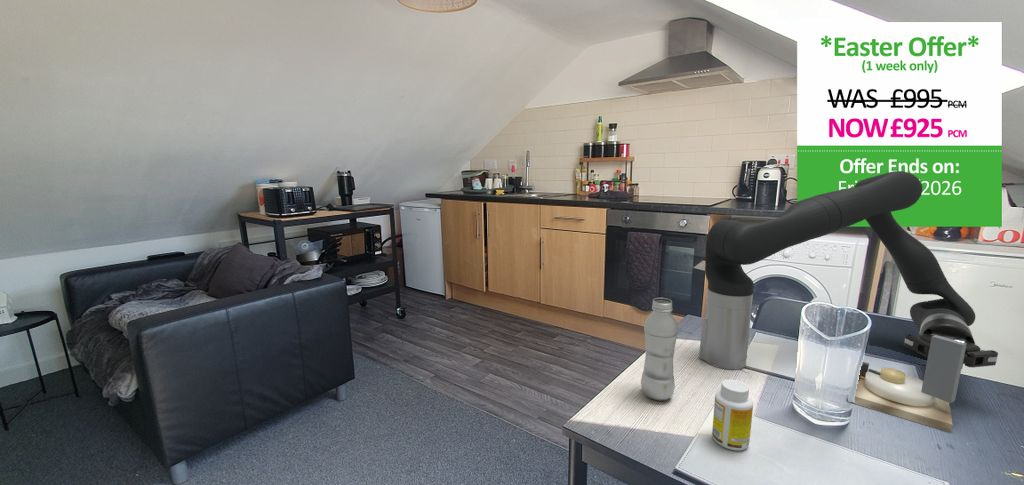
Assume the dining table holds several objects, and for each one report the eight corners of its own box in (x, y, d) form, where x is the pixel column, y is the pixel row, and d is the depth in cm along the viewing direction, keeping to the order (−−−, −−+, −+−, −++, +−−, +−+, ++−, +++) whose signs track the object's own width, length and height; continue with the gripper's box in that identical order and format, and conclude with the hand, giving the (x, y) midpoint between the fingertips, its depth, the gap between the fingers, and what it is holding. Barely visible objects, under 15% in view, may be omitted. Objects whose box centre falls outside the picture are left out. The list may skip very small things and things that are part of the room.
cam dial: (853, 385, 82) (863, 324, 80) (880, 374, 86) (890, 316, 84) (936, 419, 71) (950, 349, 69) (963, 405, 75) (978, 339, 73)
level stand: (846, 401, 80) (850, 380, 79) (853, 374, 90) (856, 355, 89) (950, 432, 70) (955, 408, 70) (945, 399, 80) (950, 377, 80)
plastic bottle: (638, 401, 81) (643, 304, 77) (641, 384, 87) (646, 293, 83) (673, 408, 78) (680, 308, 75) (674, 390, 85) (680, 297, 81)
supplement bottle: (754, 442, 69) (760, 386, 67) (740, 457, 65) (746, 398, 63) (720, 426, 73) (725, 373, 71) (705, 439, 69) (710, 384, 67)
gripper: (905, 311, 89) (904, 335, 77) (997, 326, 80) (1013, 356, 68) (899, 343, 91) (898, 372, 79) (989, 362, 82) (1004, 398, 70)
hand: (952, 365), depth 73 cm, fingers closed
